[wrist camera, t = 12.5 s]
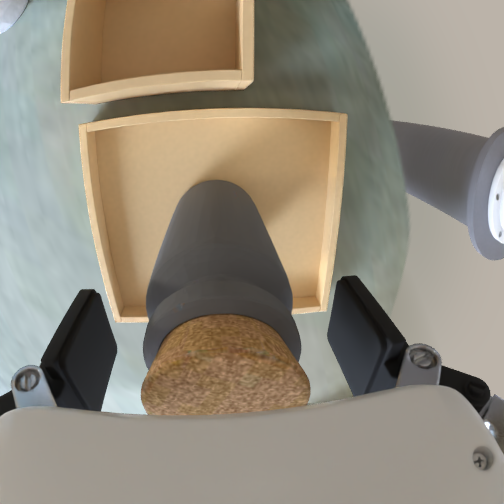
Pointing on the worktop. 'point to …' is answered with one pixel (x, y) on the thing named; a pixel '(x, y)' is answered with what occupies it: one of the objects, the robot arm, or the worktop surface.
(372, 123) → the worktop surface
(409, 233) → the worktop surface
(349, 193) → the worktop surface
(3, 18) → the house plant
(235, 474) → the robot arm
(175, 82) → the bin
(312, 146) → the tray
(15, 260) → the worktop surface
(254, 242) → the bottle
